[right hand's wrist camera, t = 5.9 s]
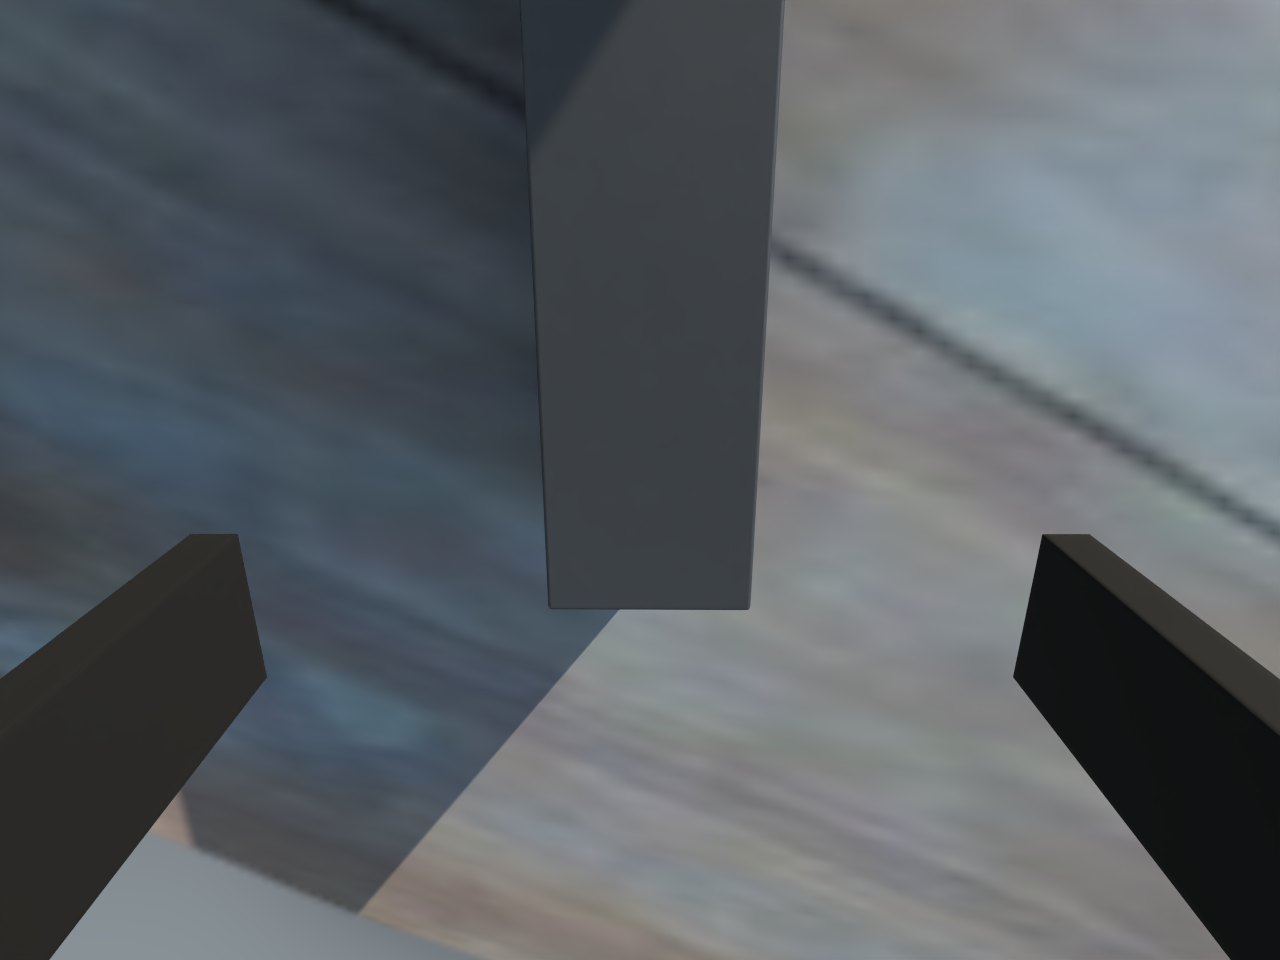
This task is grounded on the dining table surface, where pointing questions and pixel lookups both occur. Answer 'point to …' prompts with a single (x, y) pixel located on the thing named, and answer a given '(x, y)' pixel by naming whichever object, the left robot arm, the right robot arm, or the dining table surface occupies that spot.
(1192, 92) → the dining table surface
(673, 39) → the beam
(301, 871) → the dining table surface
